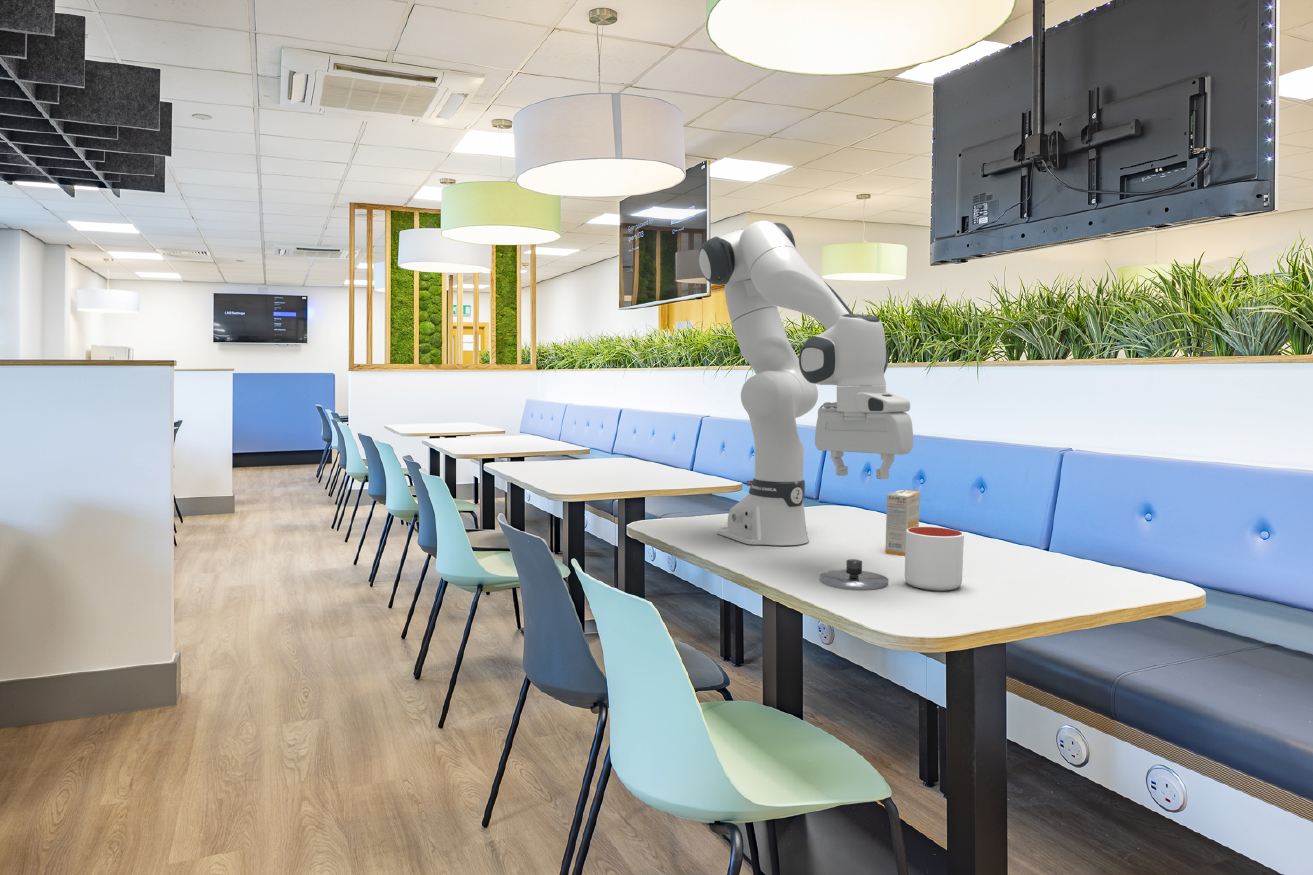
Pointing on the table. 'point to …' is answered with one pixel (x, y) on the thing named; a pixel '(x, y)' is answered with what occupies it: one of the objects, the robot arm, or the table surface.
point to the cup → (934, 558)
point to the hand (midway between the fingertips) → (861, 477)
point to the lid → (854, 578)
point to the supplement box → (900, 519)
